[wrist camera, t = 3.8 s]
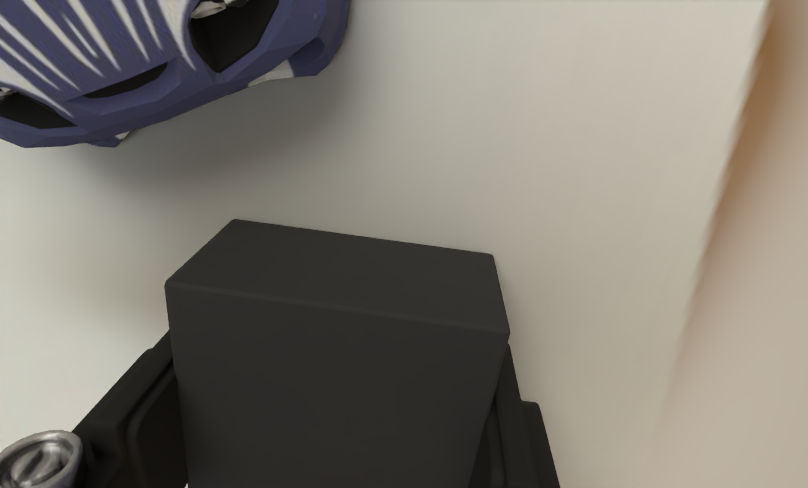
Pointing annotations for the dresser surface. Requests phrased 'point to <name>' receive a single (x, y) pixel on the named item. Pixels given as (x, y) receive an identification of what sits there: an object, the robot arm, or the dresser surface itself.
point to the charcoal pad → (333, 359)
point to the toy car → (146, 60)
